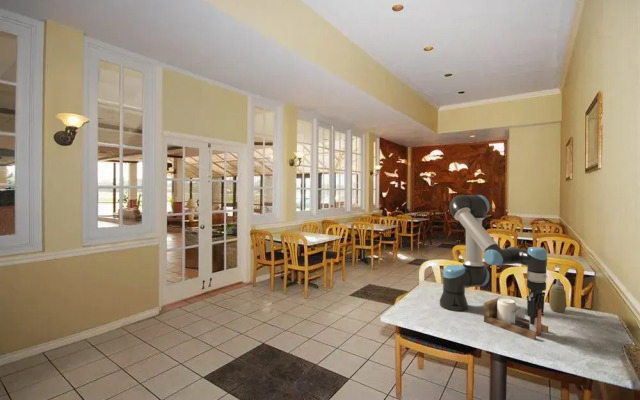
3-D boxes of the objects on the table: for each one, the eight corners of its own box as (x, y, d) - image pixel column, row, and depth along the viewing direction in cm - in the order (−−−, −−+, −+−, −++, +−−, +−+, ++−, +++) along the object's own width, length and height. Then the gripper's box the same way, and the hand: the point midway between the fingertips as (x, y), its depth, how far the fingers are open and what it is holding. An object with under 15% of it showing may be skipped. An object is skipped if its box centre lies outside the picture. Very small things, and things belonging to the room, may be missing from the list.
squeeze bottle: (551, 312, 177) (551, 280, 176) (546, 307, 184) (547, 276, 184) (568, 314, 174) (569, 281, 173) (563, 309, 181) (564, 278, 181)
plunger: (510, 328, 156) (511, 304, 155) (520, 324, 161) (520, 300, 160) (534, 337, 147) (535, 311, 146) (543, 332, 152) (544, 307, 152)
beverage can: (517, 327, 157) (518, 303, 157) (500, 326, 159) (500, 302, 158) (511, 321, 165) (512, 298, 165) (494, 319, 167) (495, 297, 166)
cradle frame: (483, 321, 164) (484, 302, 164) (498, 315, 172) (498, 297, 172) (534, 339, 145) (535, 318, 144) (548, 332, 152) (548, 311, 152)
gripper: (537, 285, 142) (535, 337, 143) (553, 279, 151) (551, 328, 152) (519, 281, 148) (517, 330, 149) (535, 276, 158) (534, 322, 158)
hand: (535, 329), depth 151 cm, fingers closed on plunger, 3 cm apart
